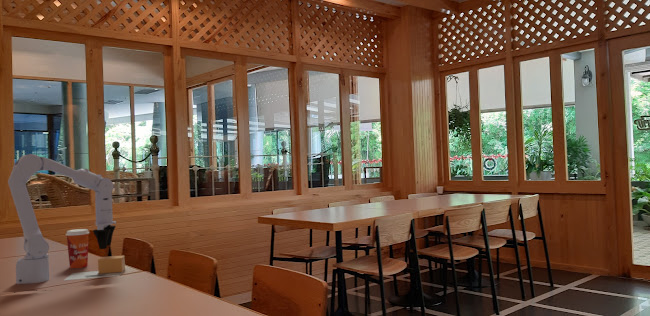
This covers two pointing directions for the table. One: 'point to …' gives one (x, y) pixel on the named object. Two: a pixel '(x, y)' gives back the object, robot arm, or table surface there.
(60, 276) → the table surface
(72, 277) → the board
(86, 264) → the coffee cup
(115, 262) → the block
